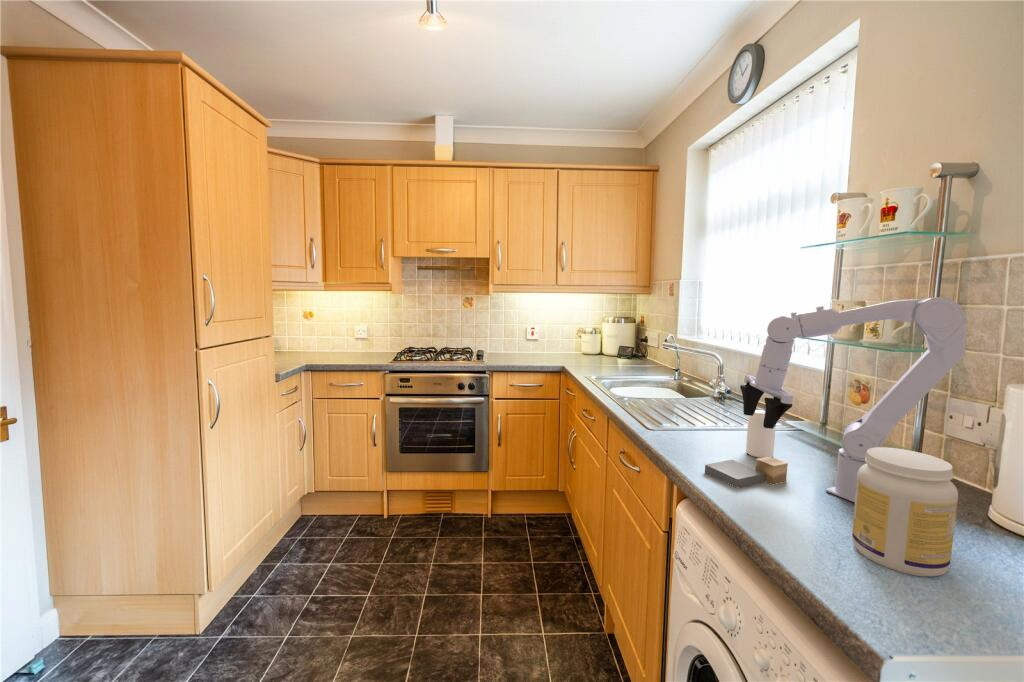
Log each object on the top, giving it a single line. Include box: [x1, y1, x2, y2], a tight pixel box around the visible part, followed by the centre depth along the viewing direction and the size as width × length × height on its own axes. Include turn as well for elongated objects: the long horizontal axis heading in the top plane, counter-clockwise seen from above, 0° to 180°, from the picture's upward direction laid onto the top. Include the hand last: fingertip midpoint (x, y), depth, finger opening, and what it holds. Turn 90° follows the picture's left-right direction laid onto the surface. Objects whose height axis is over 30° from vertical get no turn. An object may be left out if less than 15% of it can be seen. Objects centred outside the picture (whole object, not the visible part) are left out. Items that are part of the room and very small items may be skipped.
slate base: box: [704, 459, 766, 488], centre depth 103 cm, size 9×9×2 cm
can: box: [745, 408, 777, 459], centre depth 117 cm, size 6×6×12 cm
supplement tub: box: [851, 446, 959, 578], centre depth 71 cm, size 12×12×17 cm
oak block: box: [755, 456, 788, 485], centre depth 102 cm, size 4×4×4 cm
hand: (757, 421), depth 105 cm, fingers open, 7 cm apart
